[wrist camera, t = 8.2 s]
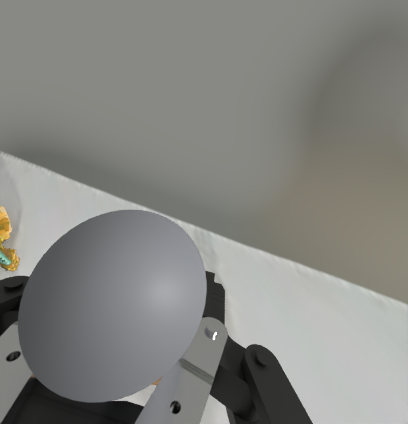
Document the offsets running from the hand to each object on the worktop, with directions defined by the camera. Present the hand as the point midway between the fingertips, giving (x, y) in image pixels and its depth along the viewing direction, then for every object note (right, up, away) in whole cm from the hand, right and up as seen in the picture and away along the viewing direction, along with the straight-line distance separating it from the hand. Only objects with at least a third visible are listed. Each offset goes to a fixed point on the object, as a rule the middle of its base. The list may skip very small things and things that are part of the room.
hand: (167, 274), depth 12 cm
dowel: (-1, -5, +5) cm, 7 cm away
